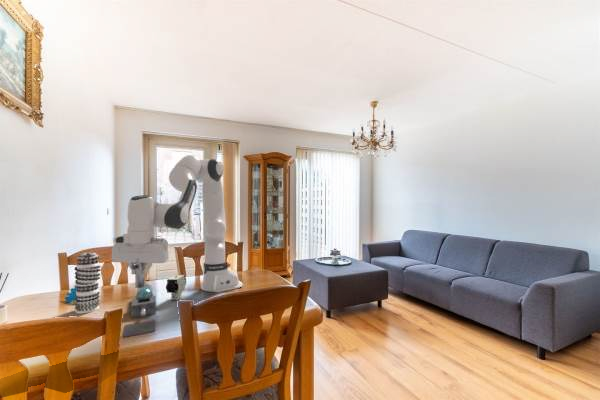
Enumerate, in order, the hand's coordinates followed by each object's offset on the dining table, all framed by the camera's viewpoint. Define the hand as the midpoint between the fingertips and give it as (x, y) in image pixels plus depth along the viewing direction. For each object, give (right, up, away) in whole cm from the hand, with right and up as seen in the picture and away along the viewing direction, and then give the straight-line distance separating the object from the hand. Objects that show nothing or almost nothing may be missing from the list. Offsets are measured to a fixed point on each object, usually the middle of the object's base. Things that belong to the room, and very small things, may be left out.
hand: (140, 274), depth 104 cm
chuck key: (0, -5, 0) cm, 5 cm away
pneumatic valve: (0, -21, +31) cm, 37 cm away
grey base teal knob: (-9, -21, +19) cm, 30 cm away
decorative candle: (-33, -21, +17) cm, 43 cm away
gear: (-47, -21, +27) cm, 58 cm away
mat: (0, -21, 0) cm, 21 cm away
